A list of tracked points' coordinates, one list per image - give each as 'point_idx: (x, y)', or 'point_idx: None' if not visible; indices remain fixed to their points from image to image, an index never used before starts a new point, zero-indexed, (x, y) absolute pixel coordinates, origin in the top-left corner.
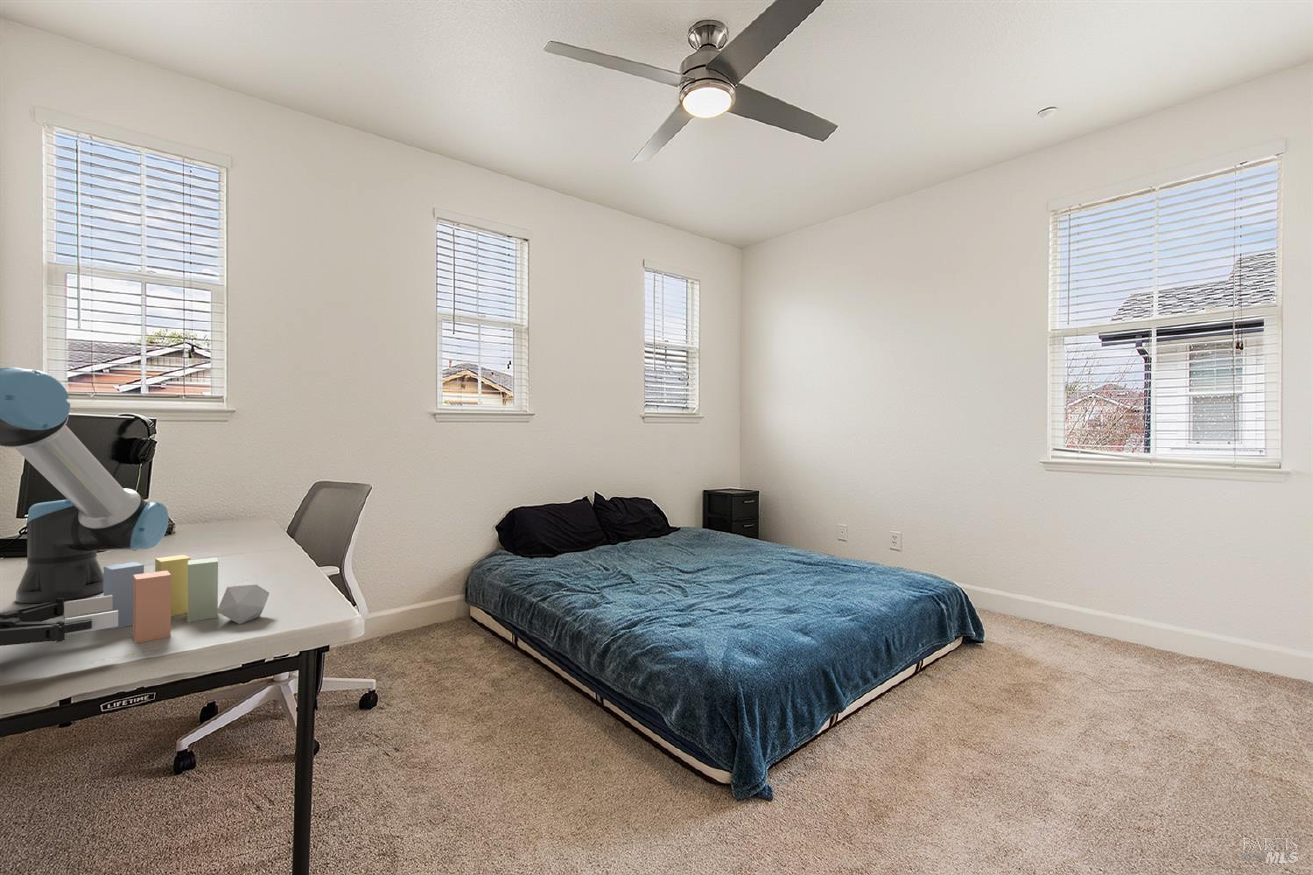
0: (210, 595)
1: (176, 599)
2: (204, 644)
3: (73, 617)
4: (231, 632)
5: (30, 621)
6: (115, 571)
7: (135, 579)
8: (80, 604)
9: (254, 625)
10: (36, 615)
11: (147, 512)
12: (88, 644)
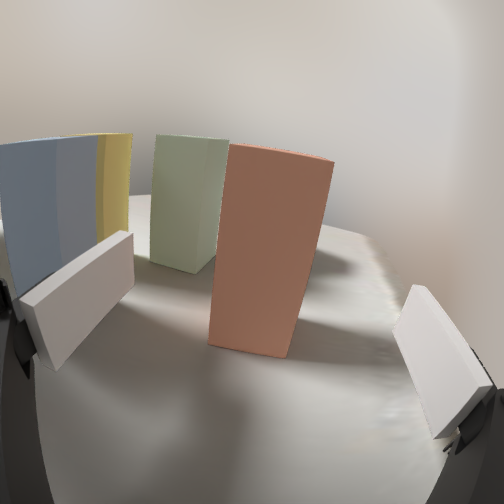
0: (215, 213)
1: (117, 229)
2: (386, 307)
3: (469, 366)
4: (338, 277)
5: (42, 494)
6: (62, 147)
7: (311, 161)
8: (77, 294)
9: (320, 259)
10: (21, 448)
11: None
12: (173, 417)
